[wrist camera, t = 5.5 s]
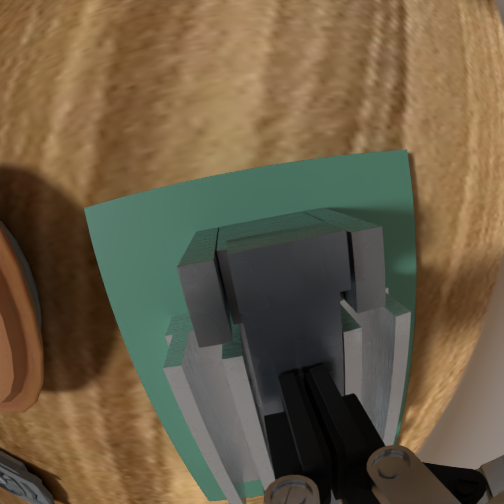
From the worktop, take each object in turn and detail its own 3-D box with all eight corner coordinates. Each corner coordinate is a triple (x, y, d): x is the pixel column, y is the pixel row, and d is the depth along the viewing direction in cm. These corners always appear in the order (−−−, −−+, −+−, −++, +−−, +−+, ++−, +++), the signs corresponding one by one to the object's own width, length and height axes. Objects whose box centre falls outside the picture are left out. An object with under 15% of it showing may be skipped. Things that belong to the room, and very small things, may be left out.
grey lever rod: (226, 238, 9) (226, 254, 7) (322, 219, 9) (346, 230, 7) (290, 515, 14) (295, 537, 12) (335, 504, 14) (342, 525, 12)
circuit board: (93, 205, 14) (83, 208, 12) (395, 151, 14) (406, 149, 13) (209, 490, 19) (209, 501, 18) (387, 449, 20) (392, 458, 19)
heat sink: (151, 241, 13) (104, 283, 8) (363, 200, 14) (439, 216, 8) (235, 480, 18) (241, 542, 12) (364, 450, 18) (390, 505, 12)
